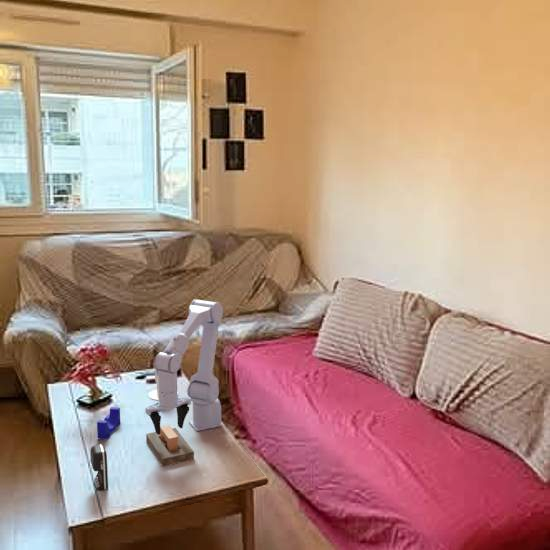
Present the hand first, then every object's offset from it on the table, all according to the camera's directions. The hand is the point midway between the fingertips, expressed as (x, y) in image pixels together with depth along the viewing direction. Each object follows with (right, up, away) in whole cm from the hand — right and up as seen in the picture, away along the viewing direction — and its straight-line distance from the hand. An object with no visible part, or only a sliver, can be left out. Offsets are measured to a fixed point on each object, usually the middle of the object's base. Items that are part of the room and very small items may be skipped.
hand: (169, 430), depth 188 cm
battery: (-16, -11, -19) cm, 27 cm away
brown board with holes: (0, -7, +1) cm, 7 cm away
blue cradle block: (-23, -4, +14) cm, 28 cm away
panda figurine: (-10, +2, +44) cm, 45 cm away
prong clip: (0, -7, +2) cm, 7 cm away
